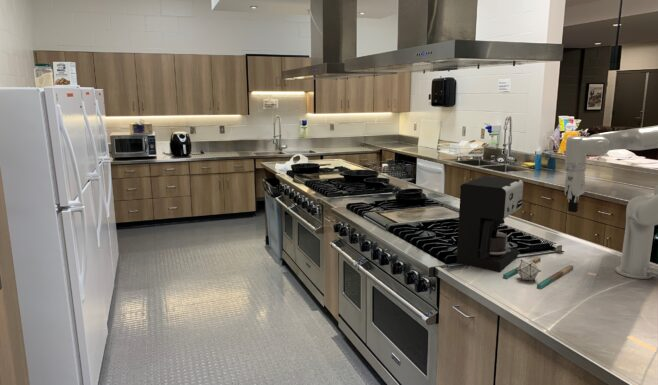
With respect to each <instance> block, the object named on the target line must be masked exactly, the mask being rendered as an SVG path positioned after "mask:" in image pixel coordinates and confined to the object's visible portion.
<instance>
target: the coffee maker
mask: <svg viewBox="0 0 658 385" xmlns="http://www.w3.org/2000/svg"><path fill="white" fill-rule="evenodd" d="M459 188H460V194H459V196H460V197H459V210H458V227H457V228H458V229H457V230H458V232H457V243H456V244H457V247H456V248H457V249H456V264H460V265H463V266H464V265H465V266H469V267H473V268H478V269H483V270H487V271H491V272H496V273H501V272H503V270H504V269H505V268H506V267H507V266H509V265H510V264H511V263H512V262H514V260H515V259H517V258H518V252H519V250H518V248H513V247H512V248H511V247H507V244H508V234H507V233H504V232H501V231H499V225H504V224H505V222H506V221H505V219H506V218H508V217H509V216H511V215H512V214H513V213H515V212H517V211H518V210H520V209H521V208H522V203H523V195H524V194H523V191H524V182H523V180H522V179H519V178H518V179H515V178H507V177H498V176H489V175H487V176H486V175H483V176H480V177H477V178H475V179H473V180H470V181H467V182H465V183H463V184H461V185H460V187H459Z"/></svg>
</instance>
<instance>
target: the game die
mask: <svg viewBox="0 0 658 385" xmlns="http://www.w3.org/2000/svg"><path fill="white" fill-rule="evenodd" d="M534 262H535V260H534V261H533V262H531V261H530V260H528V261H527V260H522V259H520V263H519V265H518V266H517V267H518V269H516V270H515V271H518V273H517V274H518V275H519V277H520V278H521V279H520V282H522V281H525V280H527V281H533V282H534V283H535V282H536V280H535V279H536V277H537V275H538V274H539V272H542V270H540V269H539V268H538V266H537V265H536V264H535V263H534Z"/></svg>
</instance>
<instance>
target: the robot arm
mask: <svg viewBox="0 0 658 385" xmlns="http://www.w3.org/2000/svg"><path fill="white" fill-rule="evenodd" d="M652 149H658V124H657V125H651V126H645V127H637V128H630V129H629V128H628V129H625V130H623V129H622V130H615V131H607V132H600V133H594V134H591V135H589V136H587V137H586V136H584V135H583V136H582V135H578V136H577V135H571V136H568V137H567V138H566V140H565V153H564V154H565V155H564V156H565V157H564V158H565V160H564V171H565V181H564V195H565V196H567V198H566V199H567V200H568V201H567V202H568V204H567V205H568V206H567V211H568V212H569V213H570V212H571V213H577V212H578V210H579V198H580V196H581V195H584V194H585V192H586V173H585V172H586V170H587V155H592V156H603V155H606V154H607V153H608V152H609V151H615V150H616V151H617V150H627V151H628V150H630V151H644V150H645V151H646V150H652ZM655 226H658V184H657V185H656V186H654V189H653V196H651V197H647V196H645V195H637V196H634V197H632V198H631V199H630V200H629V201H628V203H627V205H626V210H625V229H624V236H623V245H622V251H621V252H622V254H621V259H620V265H618V266H616V267H615V272H616V273H618V274H619V275H621V276H623V277H627V278H632V279H636V280H640V279H641V280H647V279H648V280H649V279H651V278H653V275H655V276H657V277H658V268H654V267H652V263H650V262H651V261H650V260H651V253H652V246H653V241H654V240H653V239H654V232H655Z"/></svg>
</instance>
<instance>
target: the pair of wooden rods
mask: <svg viewBox="0 0 658 385" xmlns="http://www.w3.org/2000/svg"><path fill="white" fill-rule="evenodd" d="M534 260H535V262H534V263H535V265H536V264H538V263H539V262H541V260H542V259H541V257H538V256H536V257H535V258H533V259H531V260H529V261H531V262H533V261H534ZM518 267H519V266H517V267H515V268H513V269H511V270H509V271H507V272H505V273H503V275H502V278H503V279H504V280H508V279H509V278H511V277H514V276H515V275H517V274H519V273H518V271H515V270H516V269H518ZM573 269H574V265H570V264H569V265H568V266H565V267H564V268H561V270H558V271H557V272H555V273H554V274H552V275H550V276H548V277H547V278H545V279H543V280H542V281H540V282H538V283H537V284H536V289H539V290H542V289H543V288H545V287H547V286H548V285H550V284H552V283H553V282H555V281H556V280H559V279H560V278H561V277H563V276H564V275H566V274H568V273H570V272H572V271H573Z"/></svg>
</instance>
